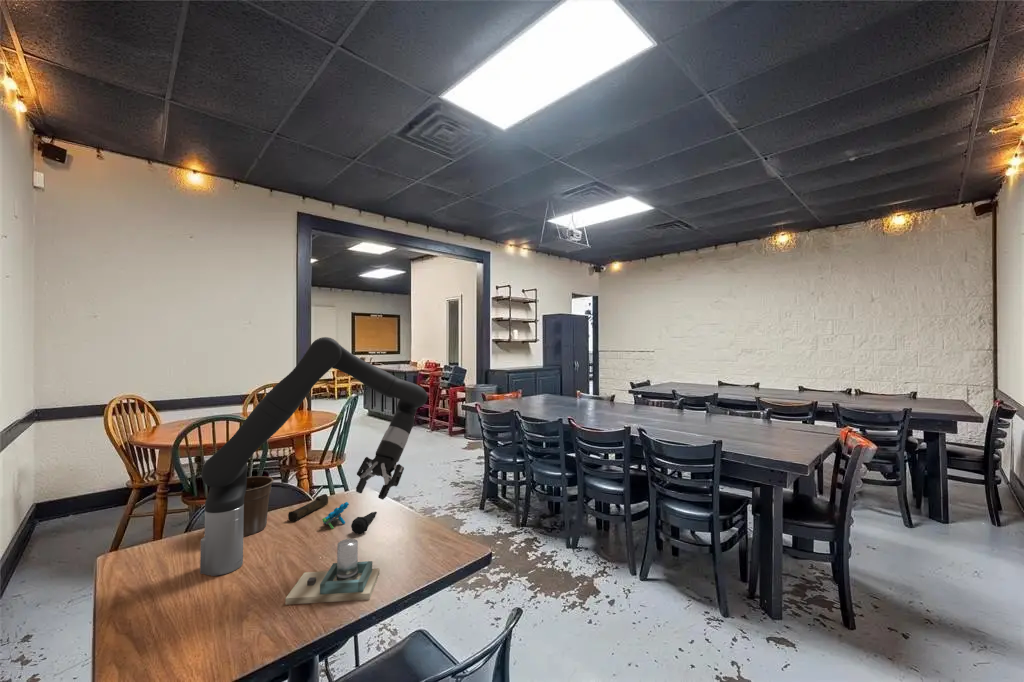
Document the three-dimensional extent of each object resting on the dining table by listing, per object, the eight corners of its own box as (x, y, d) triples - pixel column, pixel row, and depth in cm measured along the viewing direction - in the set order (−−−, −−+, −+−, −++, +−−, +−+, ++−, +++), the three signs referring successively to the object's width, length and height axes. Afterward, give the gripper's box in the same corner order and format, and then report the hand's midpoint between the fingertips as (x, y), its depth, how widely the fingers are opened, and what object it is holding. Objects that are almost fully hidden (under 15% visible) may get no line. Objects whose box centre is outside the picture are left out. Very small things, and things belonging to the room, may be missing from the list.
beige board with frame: (285, 604, 102) (285, 588, 102) (304, 577, 114) (304, 563, 114) (369, 599, 104) (369, 583, 104) (379, 573, 116) (379, 559, 116)
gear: (339, 511, 157) (351, 496, 153) (348, 523, 155) (361, 509, 152) (314, 526, 147) (326, 510, 143) (324, 540, 145) (336, 524, 142)
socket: (333, 587, 107) (334, 548, 107) (339, 576, 112) (340, 539, 112) (354, 586, 107) (355, 547, 107) (359, 575, 112) (360, 538, 113)
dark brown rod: (296, 523, 150) (296, 510, 151) (287, 521, 152) (287, 508, 152) (333, 504, 168) (333, 493, 169) (325, 503, 170) (325, 492, 170)
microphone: (371, 522, 159) (350, 539, 139) (367, 507, 159) (346, 522, 140) (384, 517, 159) (366, 533, 139) (380, 502, 160) (362, 516, 140)
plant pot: (241, 543, 134) (242, 493, 134) (205, 536, 139) (206, 488, 139) (283, 523, 149) (284, 478, 150) (249, 518, 154) (250, 474, 155)
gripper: (368, 435, 131) (343, 486, 123) (405, 443, 126) (381, 496, 117) (381, 445, 137) (358, 494, 129) (416, 452, 131) (395, 504, 123)
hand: (369, 495), depth 123 cm, fingers open, 8 cm apart
